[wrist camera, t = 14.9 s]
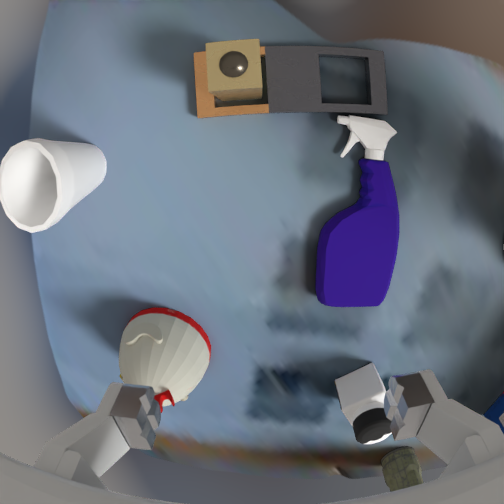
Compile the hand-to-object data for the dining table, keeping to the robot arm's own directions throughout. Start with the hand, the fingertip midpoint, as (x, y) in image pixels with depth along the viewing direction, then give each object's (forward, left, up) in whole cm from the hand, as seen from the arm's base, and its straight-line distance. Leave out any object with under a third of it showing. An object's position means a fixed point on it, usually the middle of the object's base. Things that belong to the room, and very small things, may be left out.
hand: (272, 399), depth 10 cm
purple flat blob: (-12, +3, -32) cm, 34 cm away
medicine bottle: (-15, +32, -31) cm, 47 cm away
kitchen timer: (+16, +22, -31) cm, 42 cm away
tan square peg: (+2, -14, -31) cm, 34 cm away
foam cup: (+23, -6, -31) cm, 39 cm away
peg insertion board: (-4, -14, -31) cm, 34 cm away
